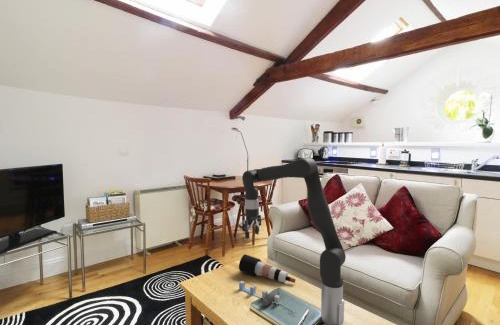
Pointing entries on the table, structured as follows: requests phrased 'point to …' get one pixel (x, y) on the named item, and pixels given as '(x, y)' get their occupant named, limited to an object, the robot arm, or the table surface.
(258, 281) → the table surface
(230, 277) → the table surface
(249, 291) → the blue grey peg rack
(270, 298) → the gray elongated ellipsoid
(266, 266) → the cable
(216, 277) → the table surface
